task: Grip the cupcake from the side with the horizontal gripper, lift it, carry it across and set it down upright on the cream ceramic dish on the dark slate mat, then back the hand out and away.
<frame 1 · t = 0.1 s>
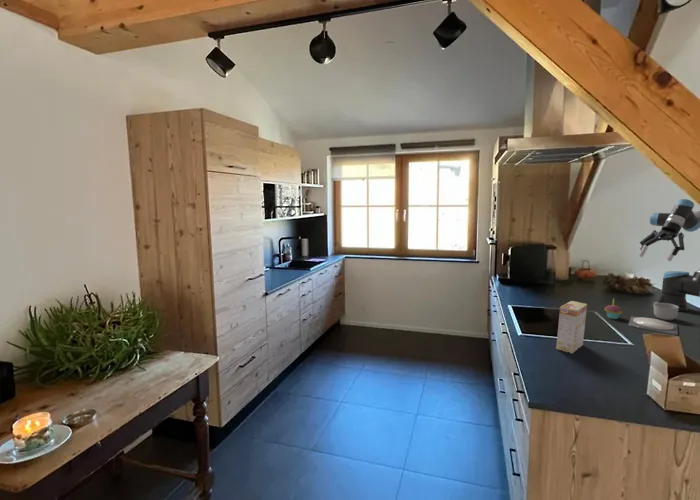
hand: (654, 257, 203), 36 cm above the countertop, tool tilted 35°, fingers open, 13 cm apart
dish: (652, 325, 203), on the countertop
cupcake: (612, 317, 216), on the countertop
coffeecake box: (569, 347, 172), on the countertop
teacup: (662, 318, 218), on the countertop
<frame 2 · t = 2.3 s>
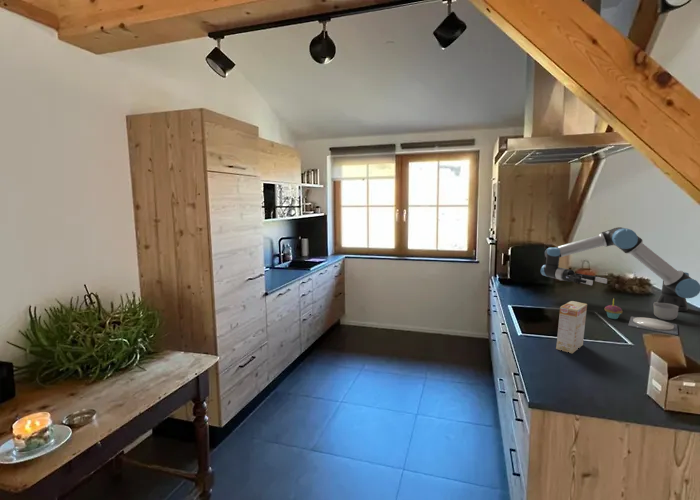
hand: (599, 282, 222), 19 cm above the countertop, tool horizontal, fingers open, 13 cm apart
nothing on the countertop moved.
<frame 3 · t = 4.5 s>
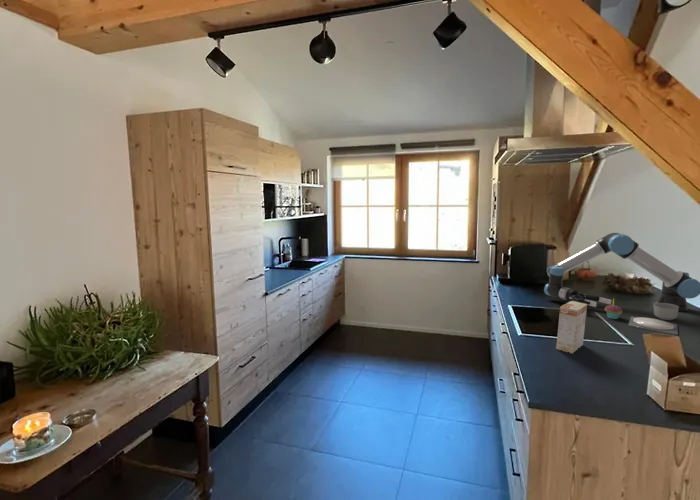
hand: (603, 303, 220), 7 cm above the countertop, tool horizontal, fingers open, 13 cm apart
nothing on the countertop moved.
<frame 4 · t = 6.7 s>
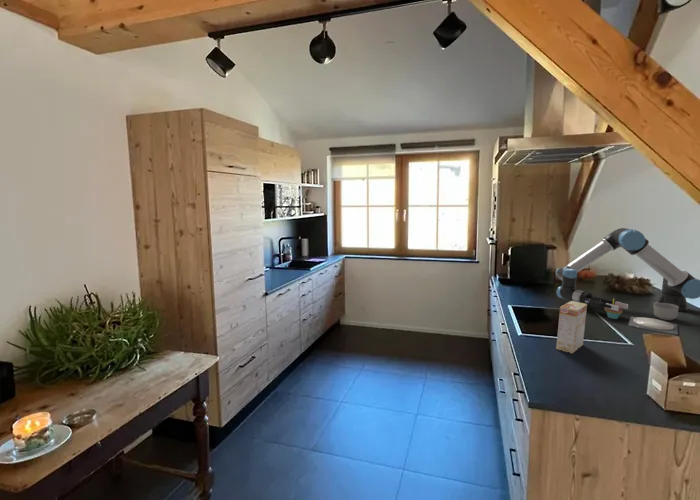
hand: (622, 307, 211), 7 cm above the countertop, tool horizontal, fingers closed on cupcake, 8 cm apart
cupcake: (612, 317, 216), on the countertop, touching gripper
everything else where it was.
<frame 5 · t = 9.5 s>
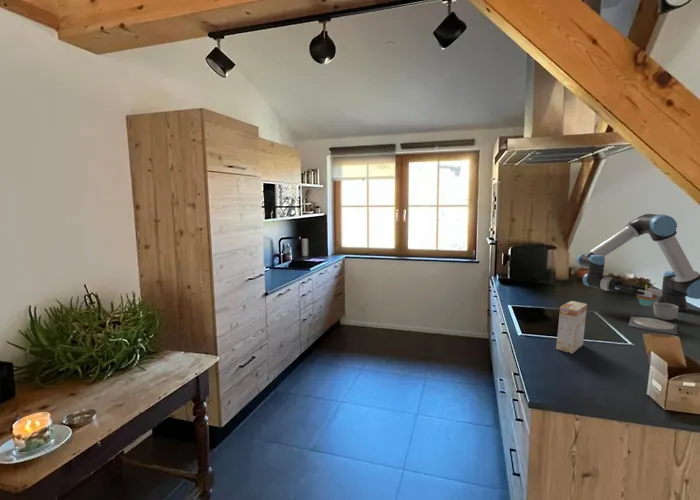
hand: (656, 294, 199), 18 cm above the countertop, tool horizontal, fingers closed on cupcake, 8 cm apart
cupcake: (644, 305, 204), point 10 cm above the countertop, touching gripper
everything else where it was.
when the fingers open (10 cm above the countertop, at t = 12.3 s): cupcake stays where it is, resting on dish.
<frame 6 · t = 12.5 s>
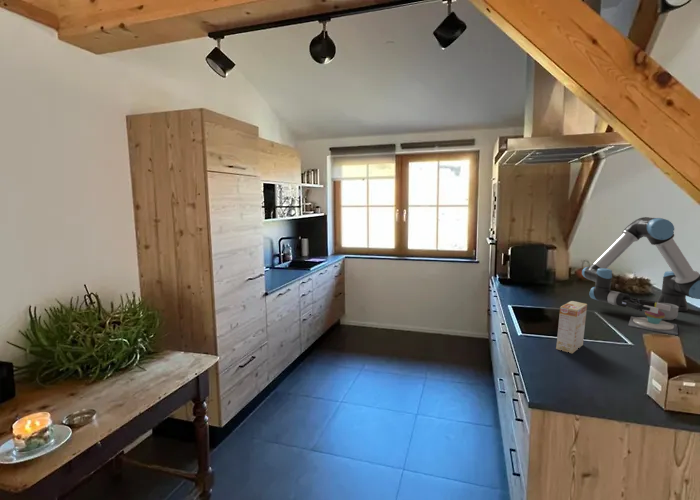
hand: (664, 309, 198), 10 cm above the countertop, tool horizontal, fingers open, 11 cm apart
cupcake: (653, 322, 203), point 2 cm above the countertop, touching dish
everything else where it was.
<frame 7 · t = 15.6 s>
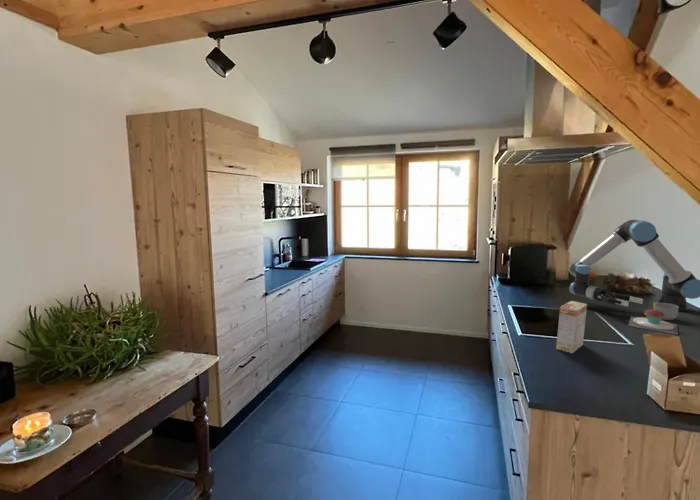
hand: (635, 302, 210), 10 cm above the countertop, tool horizontal, fingers open, 13 cm apart
nothing on the countertop moved.
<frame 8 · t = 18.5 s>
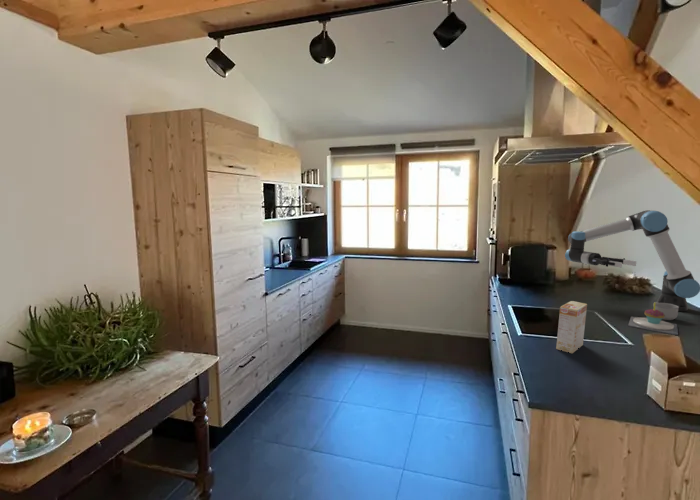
hand: (628, 264, 216), 30 cm above the countertop, tool horizontal, fingers open, 13 cm apart
nothing on the countertop moved.
at the end: cupcake inside the target area on the dish (0.1 cm from its centre), point 1.6 cm above the dish's base; cupcake tilted 0°; the gripper is holding nothing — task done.
